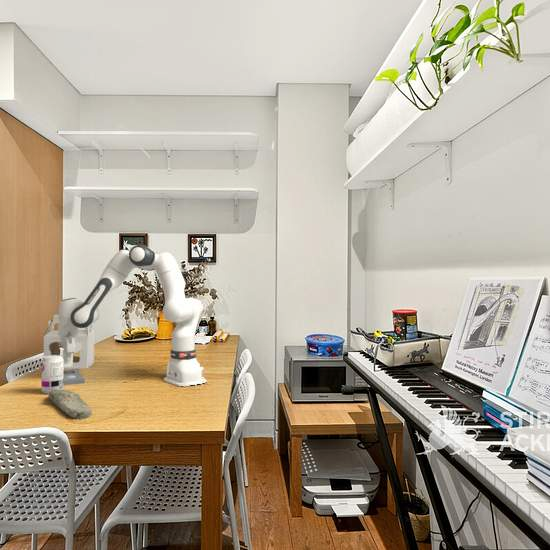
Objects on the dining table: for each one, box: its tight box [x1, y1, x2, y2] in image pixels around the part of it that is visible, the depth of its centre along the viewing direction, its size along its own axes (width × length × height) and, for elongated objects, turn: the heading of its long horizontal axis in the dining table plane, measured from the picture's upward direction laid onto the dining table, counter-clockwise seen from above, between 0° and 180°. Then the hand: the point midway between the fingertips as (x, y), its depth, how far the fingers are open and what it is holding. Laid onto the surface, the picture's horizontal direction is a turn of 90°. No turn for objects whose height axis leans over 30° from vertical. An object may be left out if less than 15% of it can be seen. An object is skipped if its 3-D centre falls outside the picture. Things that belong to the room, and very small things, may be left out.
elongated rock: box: [47, 389, 92, 420], centre depth 162 cm, size 35×5×10 cm
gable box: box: [43, 314, 95, 370], centre depth 229 cm, size 22×13×28 cm, turn 99°
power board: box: [63, 369, 85, 386], centre depth 203 cm, size 22×10×2 cm, turn 33°
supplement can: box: [41, 354, 65, 395], centre depth 181 cm, size 8×8×15 cm
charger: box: [62, 349, 74, 367], centre depth 207 cm, size 4×4×8 cm
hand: (67, 359), depth 207 cm, fingers closed on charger, 4 cm apart
